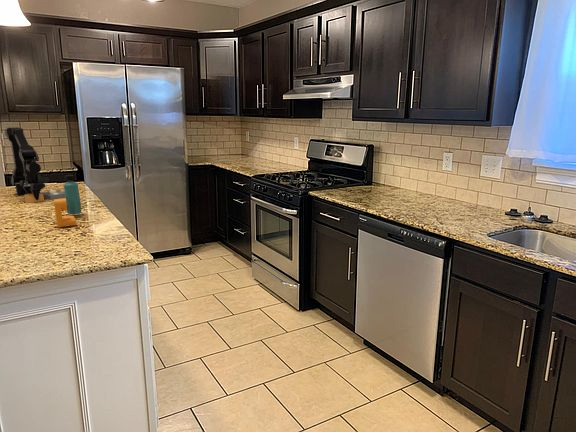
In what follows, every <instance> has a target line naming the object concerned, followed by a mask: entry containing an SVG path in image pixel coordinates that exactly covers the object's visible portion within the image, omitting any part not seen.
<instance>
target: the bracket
mask: <svg viewBox="0 0 576 432" xmlns="http://www.w3.org/2000/svg"><path fill="white" fill-rule="evenodd" d="M53 206H54V214H55V220H56V221H55V222H56V226H57V228H63V227H71V226H77V220H76V218H75V216H74V215H66V216H63V213H62V212H65V211H66V212H67V203H66V198H60V199H53Z"/></svg>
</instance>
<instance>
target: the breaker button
mask: <svg viewBox="0 0 576 432" xmlns="http://www.w3.org/2000/svg"><path fill="white" fill-rule="evenodd" d="M56 190H57V189H50V190H47V191H48V193H49V194H53V193H56Z"/></svg>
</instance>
